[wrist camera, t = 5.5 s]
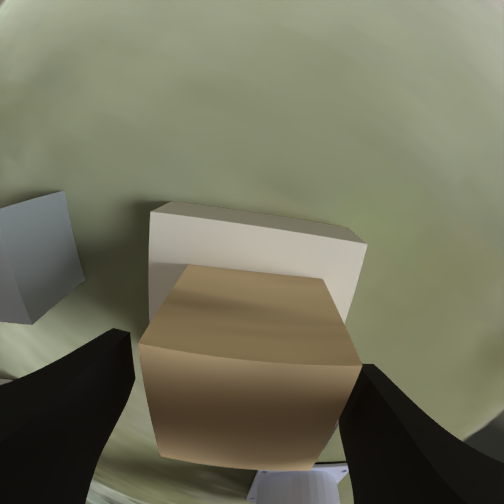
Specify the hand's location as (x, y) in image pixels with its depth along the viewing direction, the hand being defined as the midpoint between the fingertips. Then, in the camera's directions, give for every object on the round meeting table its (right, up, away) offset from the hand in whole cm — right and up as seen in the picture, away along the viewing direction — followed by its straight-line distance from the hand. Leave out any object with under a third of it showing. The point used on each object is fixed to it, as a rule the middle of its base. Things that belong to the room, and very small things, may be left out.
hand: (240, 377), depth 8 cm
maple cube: (0, +1, +3) cm, 3 cm away
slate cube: (-12, +5, +5) cm, 13 cm away
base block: (0, +2, +6) cm, 6 cm away
